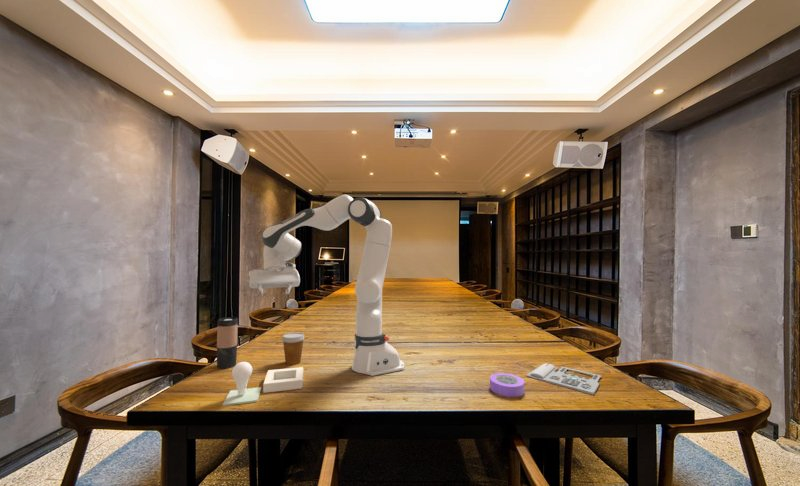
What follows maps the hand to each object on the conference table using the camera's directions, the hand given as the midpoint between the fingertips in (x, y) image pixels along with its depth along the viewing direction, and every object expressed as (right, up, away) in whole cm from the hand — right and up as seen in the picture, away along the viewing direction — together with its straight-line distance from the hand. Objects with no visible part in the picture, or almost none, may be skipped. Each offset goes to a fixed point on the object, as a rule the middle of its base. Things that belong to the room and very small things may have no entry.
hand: (275, 293), depth 128 cm
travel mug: (-22, -32, +3) cm, 39 cm away
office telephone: (+117, -33, -6) cm, 122 cm away
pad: (-1, -31, -25) cm, 39 cm away
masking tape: (+90, -32, -17) cm, 97 cm away
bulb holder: (+9, -31, -13) cm, 35 cm away
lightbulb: (-2, -30, -25) cm, 39 cm away
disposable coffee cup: (+4, -32, +8) cm, 33 cm away
